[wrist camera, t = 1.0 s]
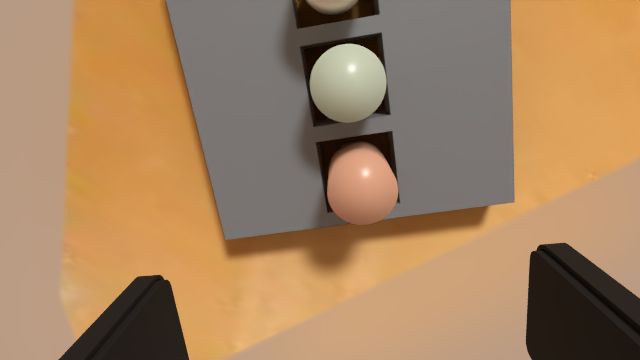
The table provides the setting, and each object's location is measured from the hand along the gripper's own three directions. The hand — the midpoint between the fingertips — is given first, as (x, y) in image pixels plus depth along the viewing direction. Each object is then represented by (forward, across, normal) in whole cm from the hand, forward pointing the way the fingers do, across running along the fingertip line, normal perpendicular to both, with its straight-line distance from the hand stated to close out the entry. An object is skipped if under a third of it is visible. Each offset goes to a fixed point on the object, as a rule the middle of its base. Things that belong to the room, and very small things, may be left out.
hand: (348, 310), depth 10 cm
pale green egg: (+17, -1, -5) cm, 18 cm away
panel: (+19, -1, -5) cm, 20 cm away
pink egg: (+17, -1, +1) cm, 17 cm away
